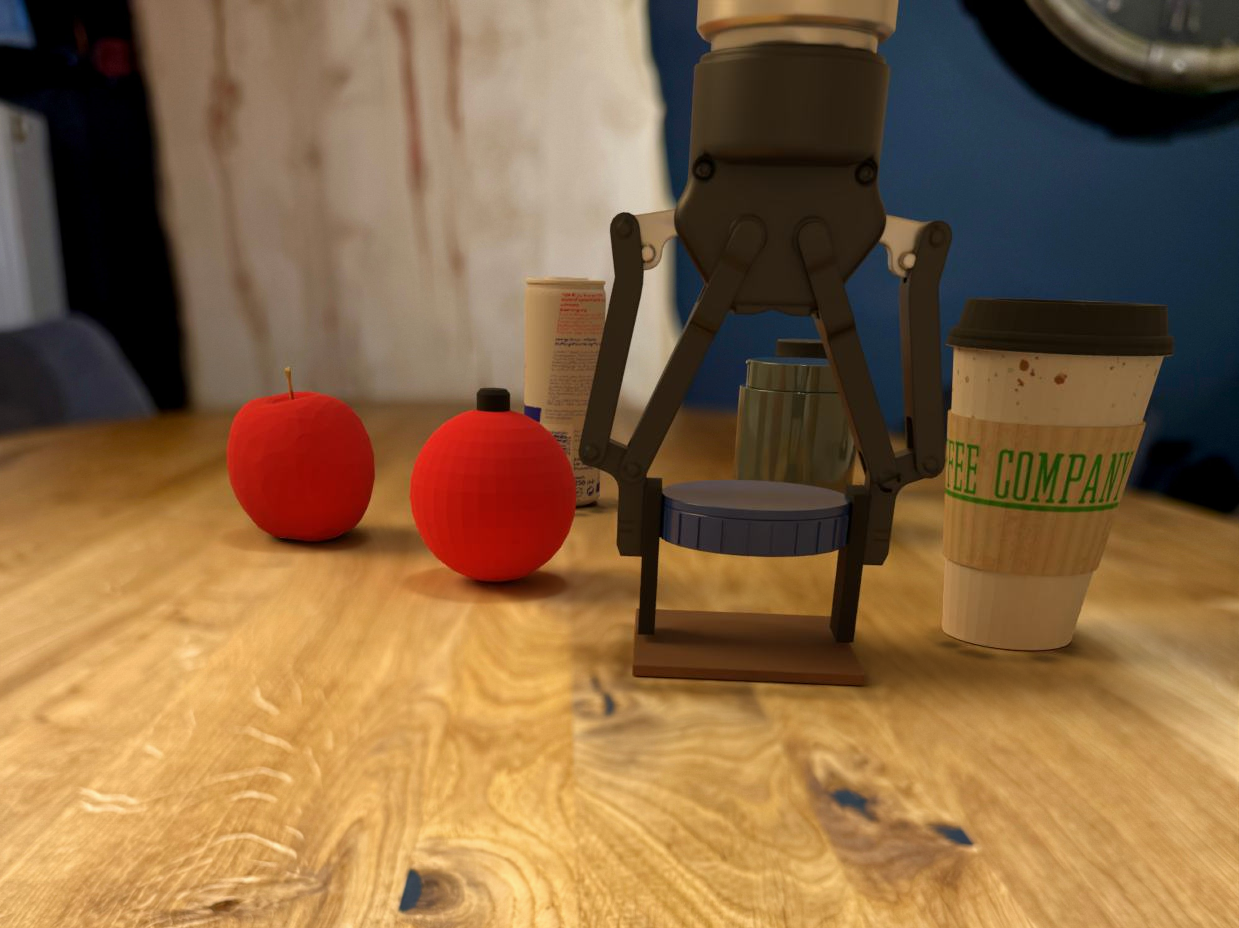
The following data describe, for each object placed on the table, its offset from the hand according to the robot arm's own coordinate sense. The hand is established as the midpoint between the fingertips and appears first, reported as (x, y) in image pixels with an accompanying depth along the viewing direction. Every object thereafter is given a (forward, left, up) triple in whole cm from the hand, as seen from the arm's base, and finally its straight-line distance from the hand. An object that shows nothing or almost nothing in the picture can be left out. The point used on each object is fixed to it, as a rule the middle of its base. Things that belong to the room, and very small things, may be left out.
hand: (743, 630), depth 59 cm
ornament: (+13, -12, -1) cm, 18 cm away
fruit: (+26, -22, -1) cm, 34 cm away
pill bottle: (-7, -48, -1) cm, 49 cm away
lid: (0, 0, +6) cm, 6 cm away
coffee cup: (-13, -5, -1) cm, 14 cm away
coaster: (0, 0, -1) cm, 1 cm away
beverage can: (+11, -38, -1) cm, 40 cm away
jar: (-5, -31, -1) cm, 31 cm away
